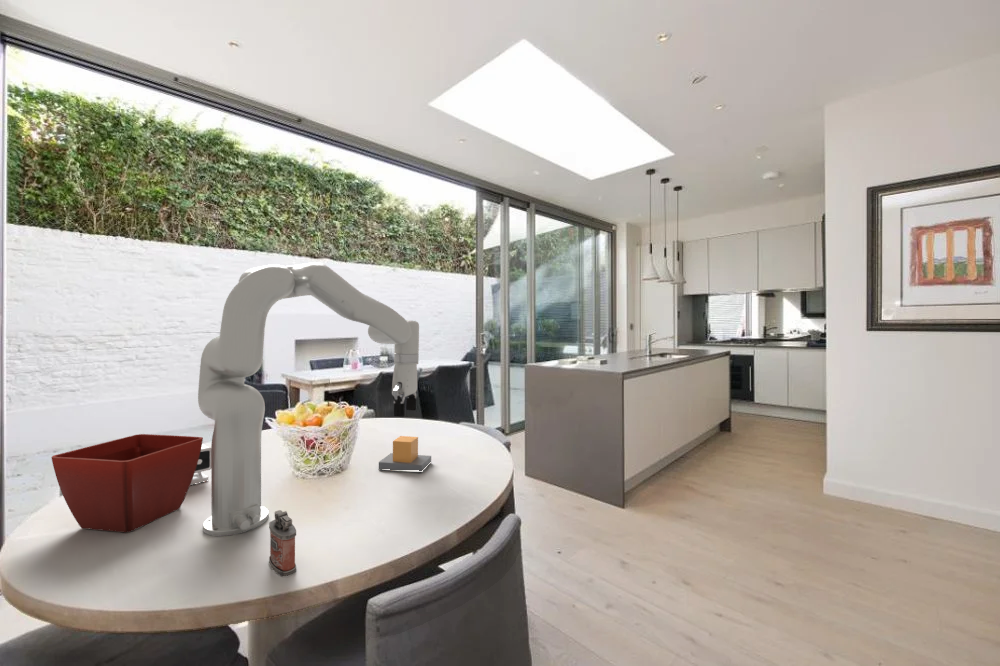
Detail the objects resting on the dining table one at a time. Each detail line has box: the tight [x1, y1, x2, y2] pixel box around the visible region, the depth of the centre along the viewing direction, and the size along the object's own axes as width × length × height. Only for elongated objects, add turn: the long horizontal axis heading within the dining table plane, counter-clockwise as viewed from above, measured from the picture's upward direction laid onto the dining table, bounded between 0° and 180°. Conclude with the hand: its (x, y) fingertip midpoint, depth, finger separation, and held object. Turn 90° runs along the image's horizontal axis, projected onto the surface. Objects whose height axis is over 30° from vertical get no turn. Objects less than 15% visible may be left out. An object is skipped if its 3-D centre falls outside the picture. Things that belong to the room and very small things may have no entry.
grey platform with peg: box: [378, 452, 432, 471], centre depth 131 cm, size 14×9×8 cm, turn 81°
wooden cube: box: [392, 435, 419, 463], centre depth 131 cm, size 6×6×6 cm
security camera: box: [190, 443, 211, 486], centre depth 116 cm, size 6×7×10 cm
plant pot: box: [51, 433, 204, 533], centre depth 95 cm, size 19×19×17 cm
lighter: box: [268, 509, 297, 578], centre depth 77 cm, size 8×3×10 cm, turn 47°
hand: (405, 413), depth 131 cm, fingers open, 9 cm apart
